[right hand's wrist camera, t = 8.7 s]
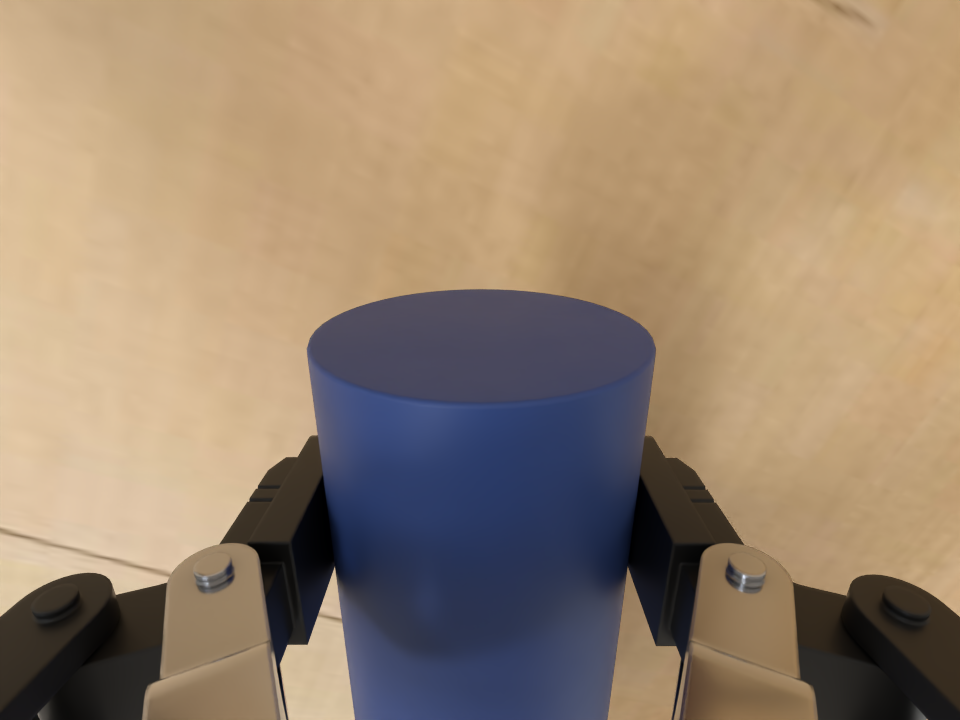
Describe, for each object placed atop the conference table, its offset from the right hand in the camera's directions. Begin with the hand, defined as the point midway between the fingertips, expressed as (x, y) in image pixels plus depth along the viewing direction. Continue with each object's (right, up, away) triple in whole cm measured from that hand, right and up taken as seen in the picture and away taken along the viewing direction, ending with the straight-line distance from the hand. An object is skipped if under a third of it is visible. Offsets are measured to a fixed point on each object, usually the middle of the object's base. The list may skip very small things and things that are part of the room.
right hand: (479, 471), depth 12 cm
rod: (0, -9, +5) cm, 10 cm away
